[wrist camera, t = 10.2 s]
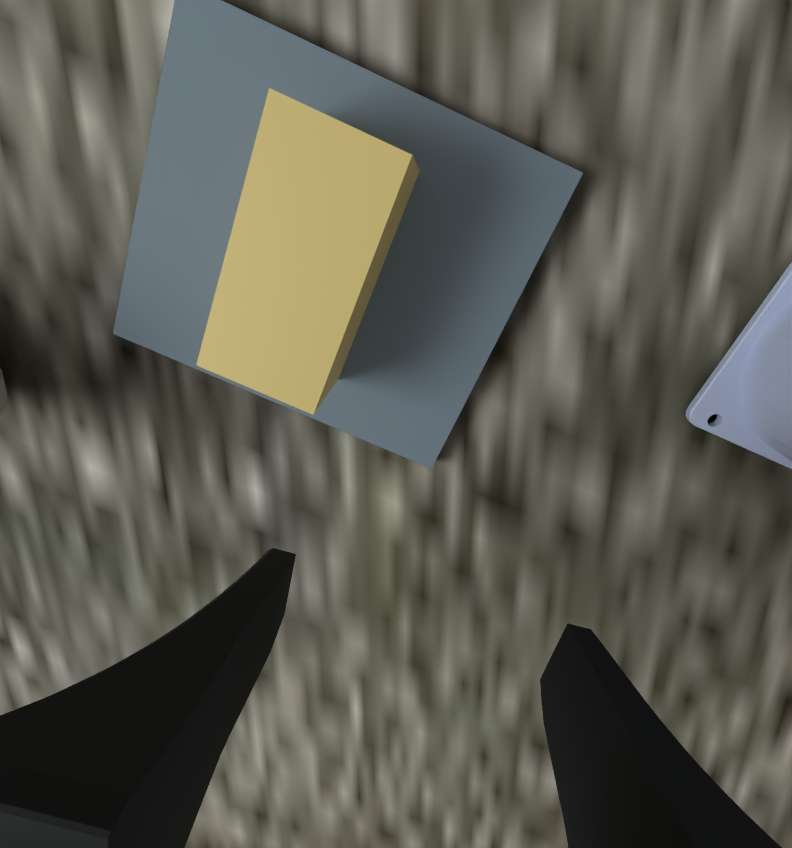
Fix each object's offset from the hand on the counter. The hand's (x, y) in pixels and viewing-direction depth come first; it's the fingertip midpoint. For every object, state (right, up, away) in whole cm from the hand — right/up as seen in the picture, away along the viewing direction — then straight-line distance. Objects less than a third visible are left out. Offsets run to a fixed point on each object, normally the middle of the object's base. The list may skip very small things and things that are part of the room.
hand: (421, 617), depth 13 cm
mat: (-3, +11, +6) cm, 13 cm away
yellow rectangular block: (-3, +11, +5) cm, 13 cm away
